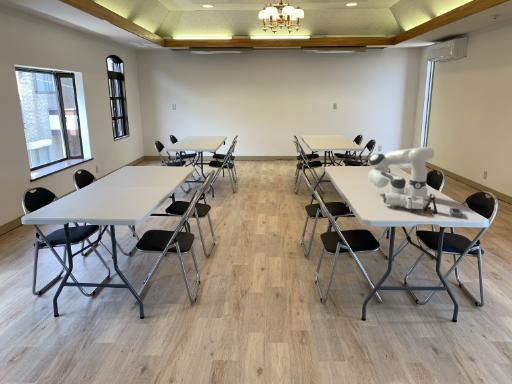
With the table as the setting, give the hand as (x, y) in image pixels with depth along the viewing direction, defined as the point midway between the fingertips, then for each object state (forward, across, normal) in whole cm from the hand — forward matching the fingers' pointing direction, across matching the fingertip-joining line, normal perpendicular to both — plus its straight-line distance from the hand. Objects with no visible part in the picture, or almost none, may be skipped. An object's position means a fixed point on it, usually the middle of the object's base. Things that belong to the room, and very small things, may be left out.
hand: (430, 203), depth 256 cm
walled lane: (-2, 0, -6) cm, 6 cm away
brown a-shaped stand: (+1, -1, -6) cm, 6 cm away
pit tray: (+16, 0, -6) cm, 17 cm away
